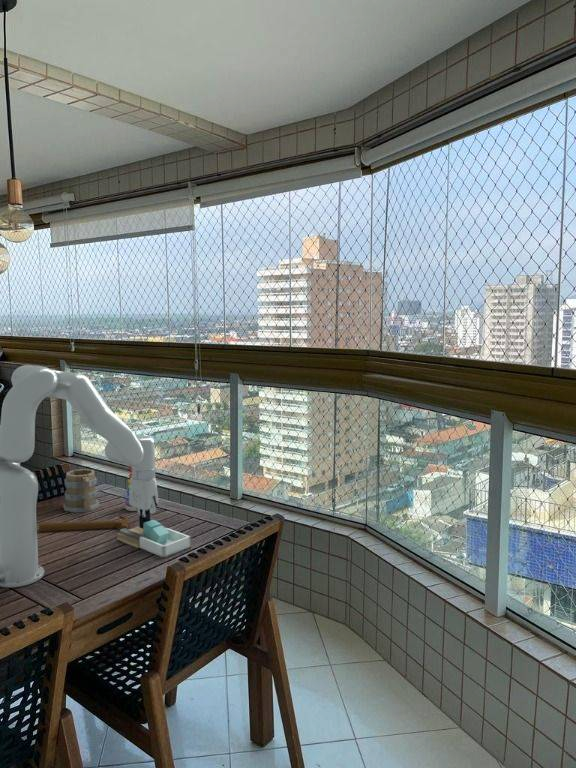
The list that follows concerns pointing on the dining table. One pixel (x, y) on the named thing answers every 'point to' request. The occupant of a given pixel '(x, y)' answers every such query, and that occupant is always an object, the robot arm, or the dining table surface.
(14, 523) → the robot arm
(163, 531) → the light teal cube
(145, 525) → the teal cube block
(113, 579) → the dining table surface
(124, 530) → the slot board
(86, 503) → the tankard
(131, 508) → the stacking toy
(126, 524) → the hammer
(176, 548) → the tray
